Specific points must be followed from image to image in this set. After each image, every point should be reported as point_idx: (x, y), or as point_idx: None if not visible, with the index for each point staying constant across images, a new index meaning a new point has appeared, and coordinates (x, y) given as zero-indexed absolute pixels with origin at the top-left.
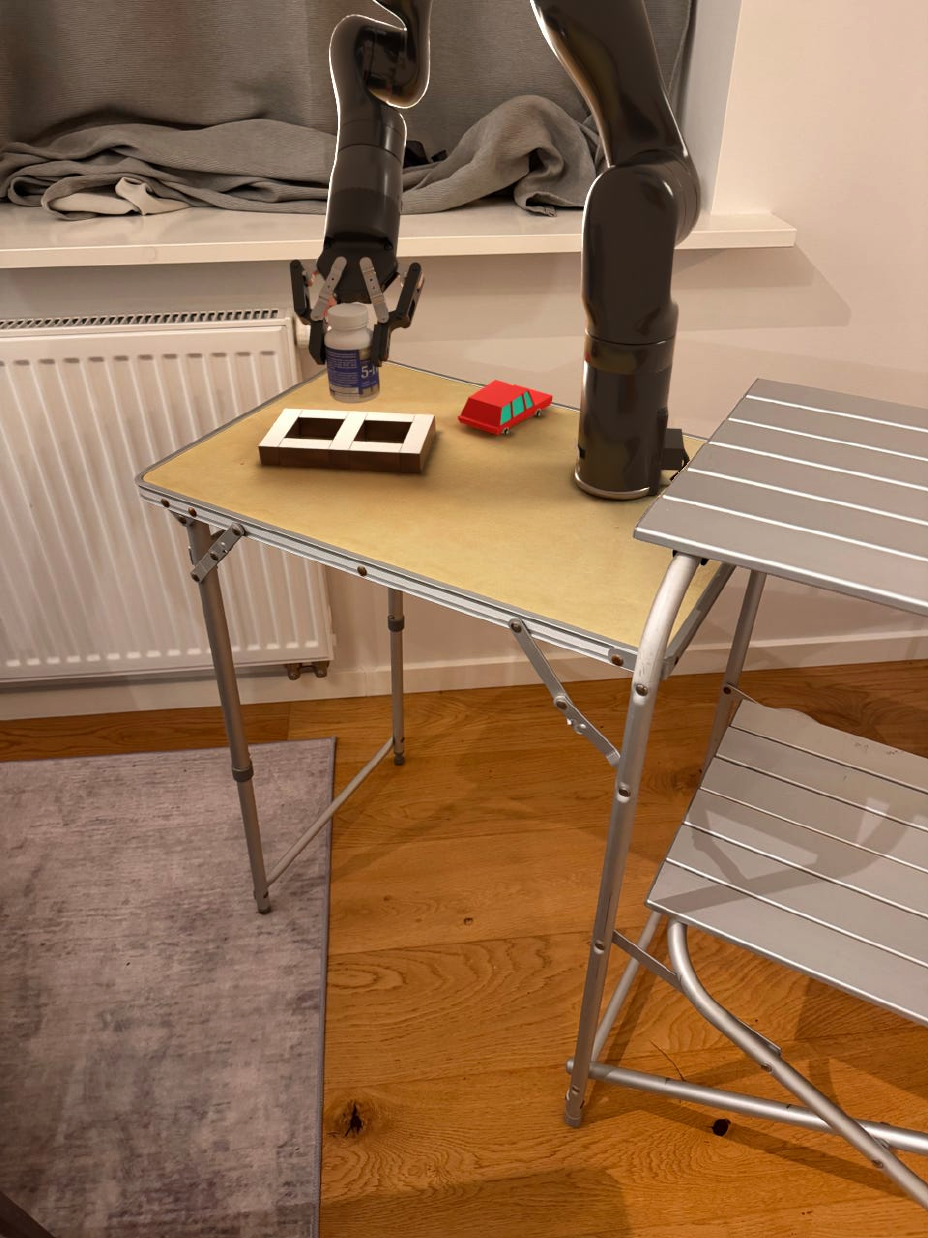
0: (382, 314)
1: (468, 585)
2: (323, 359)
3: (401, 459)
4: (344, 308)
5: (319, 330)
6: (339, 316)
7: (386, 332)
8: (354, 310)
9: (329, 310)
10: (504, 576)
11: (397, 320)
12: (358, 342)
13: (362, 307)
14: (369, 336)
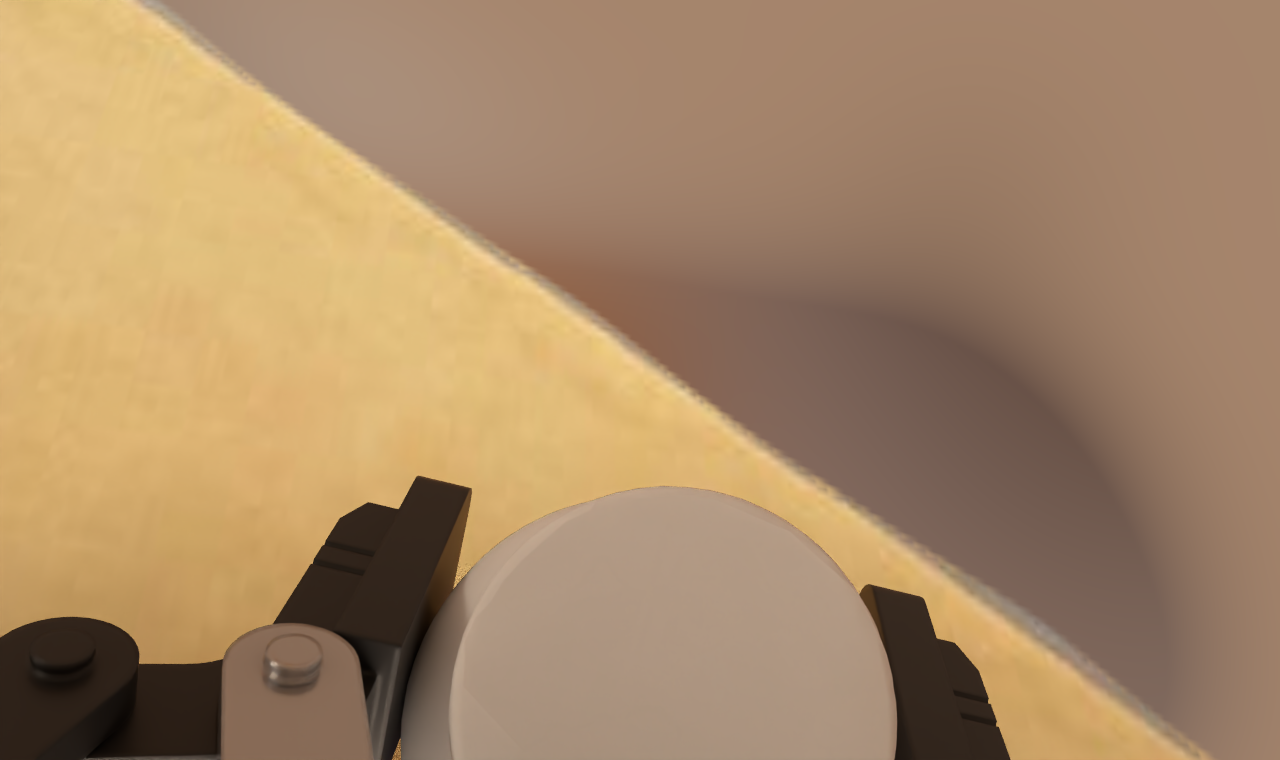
0: (291, 659)
1: (246, 105)
2: None
3: None
4: (716, 744)
5: (929, 717)
6: (752, 505)
7: (296, 611)
8: (600, 647)
9: (877, 696)
10: (118, 130)
11: (142, 671)
12: (565, 511)
13: (508, 746)
14: (463, 599)
